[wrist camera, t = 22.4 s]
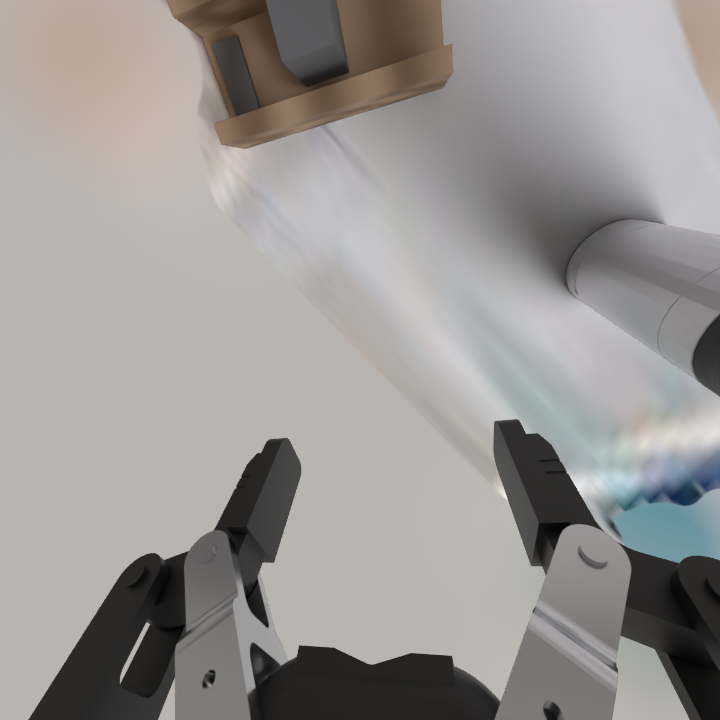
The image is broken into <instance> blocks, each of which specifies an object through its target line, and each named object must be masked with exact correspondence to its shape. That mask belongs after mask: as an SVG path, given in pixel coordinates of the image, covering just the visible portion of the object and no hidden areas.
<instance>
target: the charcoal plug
mask: <svg viewBox="0 0 720 720" xmlns="http://www.w3.org/2000/svg"><path fill="white" fill-rule="evenodd" d="M266 3H267V7H268V11H269V15H270V19H271V22H272V26H273V30H274V34H275V38H276V41H277V45H278V49H279V53H280V57H281V60H282V63H283V64H284V65H285V66H286V67H287V68H288V69H289V70H290V71H291V72H292V73H293V74H294V75H295V76H296V77H297V78H298V79H299V80H300V81H301V82H302V83H303V84H304V85H305V86H306V87H309V86H312V85H315V84H318V83H321V82H324V81H326V80H329V79H332V78H335V77H338V76H341V75H344V74H347V73H349V67H348V61H347V56H346V50H345V45H344V39H343V33H342V28H341V22H340V16H339V11H338V6H337V3H336V0H266Z"/></svg>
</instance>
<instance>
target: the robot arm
mask: <svg viewBox="0 0 720 720" xmlns="http://www.w3.org/2000/svg"><path fill="white" fill-rule="evenodd" d="M566 282H567V286H568V288H569V290H570V292H571V293H572V294H573V295H574V296H575V297H576V298H577V299H579V300H580V301H582V302H583V303H585V304H586V305H587V306H589V307H590V308H592V309H593V310H594V311H596V312H597V313H599V314H600V315H602V316H603V317H605V318H606V319H608V320H609V321H610V322H612V323H613V324H615V325H616V326H618V327H619V328H621V329H622V330H624V331H625V332H627V333H628V334H629V335H631V336H632V337H634V338H635V339H637V340H638V341H640V342H641V343H643V344H644V345H646V346H647V347H648V348H650V349H651V350H653V351H654V352H656V353H657V354H659V355H660V356H662V357H663V358H665V359H666V360H668V361H669V362H670V363H672V364H674V365H675V366H677V367H678V368H679V369H681V370H682V371H684V372H685V373H687V374H688V375H690V376H691V377H693V378H694V379H695V380H697V381H698V382H700V383H701V384H702V385H704V386H705V387H707V388H708V389H710V390H711V391H712V392H714V393H715V394H717V395H718V396H720V235H716V234H711V233H706V232H701V231H695V230H690V229H685V228H680V227H675V226H670V225H665V224H660V223H655V222H650V221H644V220H639V219H626V220H621V221H616V222H614V223H611V224H608V225H606V226H604V227H602V228H601V229H599V230H597V231H595V232H594V233H593V234H592V235H590V236H589V237H588V238H586V239H585V241H584V242H583V243H582V244H581V245H580V246H579V247H578V248H577V250H576V251H575V253H574V254H573V256H572V258H571V260H570V262H569V264H568V268H567V272H566ZM494 458H495V463H496V466H497V469H498V472H499V475H500V478H501V481H502V484H503V486H504V489H505V492H506V495H507V498H508V501H509V504H510V507H511V509H512V512H513V515H514V518H515V521H516V524H517V527H518V530H519V532H520V535H521V538H522V541H523V544H524V547H525V550H526V553H527V555H528V558H529V561H530V564H531V566H542V567H543V569H544V572H545V575H546V577H545V580H544V583H543V586H542V589H541V593H540V595H539V598H538V600H537V603H536V606H535V608H534V610H533V612H532V614H531V617H530V620H529V622H528V625H527V628H526V631H525V634H524V637H523V640H522V643H521V645H520V648H519V651H518V654H517V657H516V660H515V663H514V666H513V668H512V671H511V674H510V677H509V680H508V683H507V685H506V688H505V691H504V694H503V697H502V700H501V702H500V701H499V699H498V698H497V697H496V696H495V695H494V694H493V693H492V692H491V691H490V690H489V689H488V688H487V687H486V686H485V685H484V684H482V683H481V682H480V681H479V680H477V679H476V678H475V677H473V676H472V675H470V674H468V673H467V672H465V671H464V670H461V669H459V668H457V667H455V666H454V664H453V659H452V656H444V655H430V654H416V653H410V654H407V655H404V656H401V657H398V658H394V659H391V660H387V661H384V662H381V663H378V664H374V665H370V664H366V663H365V662H362V661H360V660H358V659H356V658H354V657H352V656H350V655H348V654H346V653H343V652H341V651H339V650H337V649H335V648H329V647H314V646H299V649H298V654H297V657H295V658H294V659H292V660H290V661H288V659H287V656H286V653H285V650H284V648H283V645H282V643H281V641H280V639H279V637H278V635H277V633H276V631H275V628H274V624H273V620H272V617H271V612H270V608H269V605H268V601H267V597H266V593H265V589H264V585H263V582H262V578H261V575H260V573H259V571H260V568H261V565H262V562H271V563H272V562H273V563H274V561H275V557H276V554H277V551H278V548H279V544H280V541H281V538H282V535H283V531H284V528H285V525H286V522H287V519H288V515H289V512H290V509H291V506H292V502H293V499H294V496H295V493H296V489H297V486H298V483H299V480H300V476H301V464H300V461H299V459H298V457H297V455H296V453H295V451H294V449H293V447H292V444H291V442H290V441H289V439H288V438H281V439H270V440H268V441H267V442H266V444H265V446H264V449H263V451H262V452H261V453H257V454H256V455H255V456H254V458H253V459H252V460H251V461H250V462H249V463H248V464H247V466H246V468H245V470H244V472H243V474H242V478H241V479H240V480H239V482H238V484H237V488H236V489H235V490H234V492H233V494H232V496H231V498H230V500H229V502H228V504H227V506H226V508H225V510H224V512H223V514H222V516H221V518H220V520H219V522H218V524H217V526H216V528H215V529H214V531H212V532H209V533H207V534H205V535H204V536H202V537H201V538H200V539H199V540H198V541H197V542H196V543H195V544H194V545H193V546H192V547H191V549H190V551H188V552H185V553H182V554H179V555H177V556H174V557H171V558H169V559H166V560H163V559H162V558H161V557H160V556H159V555H157V554H155V553H150V554H146V555H144V556H142V557H140V558H138V559H137V560H135V561H134V562H133V563H132V564H130V566H128V567H127V568H126V569H125V571H124V572H123V573H122V574H121V576H120V577H119V578H118V580H117V582H116V583H115V585H114V586H113V588H112V589H111V591H110V593H109V594H108V596H107V597H106V599H105V600H104V602H103V604H102V605H101V607H100V608H99V610H98V611H97V613H96V615H95V616H94V618H93V619H92V621H91V622H90V624H89V626H88V627H87V629H86V630H85V632H84V633H83V635H82V637H81V638H80V640H79V642H78V643H77V644H76V646H75V648H74V649H73V651H72V652H71V654H70V655H69V657H68V659H67V660H66V662H65V663H64V665H63V667H62V668H61V670H60V671H59V673H58V674H57V676H56V677H55V679H54V681H53V682H52V684H51V685H50V687H49V688H48V690H47V692H46V693H45V695H44V696H43V698H42V700H41V701H40V703H39V704H38V706H37V707H36V709H35V710H34V712H33V713H32V715H31V717H30V718H29V720H158V718H159V715H160V713H161V710H162V708H163V705H164V703H165V700H166V698H167V695H168V693H169V690H170V688H171V685H172V683H173V680H174V678H175V720H612V716H613V709H614V703H615V697H616V691H617V682H618V669H617V666H616V657H617V651H618V645H619V639H620V635H621V636H623V637H626V638H629V639H631V640H633V641H636V642H638V643H641V644H644V645H646V646H649V647H651V648H654V649H655V650H656V652H657V654H658V656H659V658H660V660H661V662H662V664H663V666H664V668H665V670H666V672H667V674H668V676H669V678H670V680H671V682H672V684H673V686H674V689H675V690H676V693H677V694H678V697H679V699H680V701H681V703H682V705H683V707H684V708H685V711H686V713H687V715H688V717H689V719H690V720H720V561H719V560H717V559H714V558H710V557H705V556H690V557H687V558H685V559H683V560H682V561H681V562H680V563H676V562H672V561H669V560H665V559H662V558H658V557H654V556H651V555H648V554H644V553H640V552H637V551H634V550H632V549H630V548H627V547H625V546H624V545H622V544H620V543H618V542H617V541H616V540H615V539H613V538H612V537H611V536H610V535H608V534H607V533H605V532H604V531H603V530H602V529H601V528H600V526H599V525H598V524H597V523H596V521H595V520H594V518H593V516H592V514H591V513H590V511H589V509H588V508H587V506H586V504H585V502H584V501H583V499H582V497H581V495H580V494H579V492H578V490H577V488H576V487H575V485H574V483H573V482H572V480H571V478H570V476H569V475H568V474H567V472H566V469H565V468H564V466H563V464H562V462H560V460H559V457H558V456H557V454H556V452H555V450H554V449H553V447H552V445H551V444H550V443H549V442H547V441H546V440H545V439H544V438H543V437H541V436H540V435H539V434H538V433H536V434H526V433H525V431H524V429H523V427H522V425H521V423H520V421H519V420H518V419H515V420H503V421H495V422H494ZM146 622H147V623H149V624H150V626H149V628H148V630H147V632H146V634H145V636H144V638H143V640H142V642H141V644H140V646H139V648H138V650H137V652H136V654H135V656H134V658H133V660H132V662H131V664H130V666H129V668H128V670H127V672H126V674H125V676H124V678H123V680H122V682H121V684H120V675H121V672H122V669H123V667H124V664H125V663H126V661H127V659H128V657H129V654H130V653H131V651H132V649H133V647H134V645H135V643H136V641H137V639H138V637H139V635H140V633H141V631H142V629H143V627H144V625H145V623H146Z"/></svg>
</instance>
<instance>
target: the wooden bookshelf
mask: <svg viewBox="0 0 720 720" xmlns="http://www.w3.org/2000/svg"><path fill="white" fill-rule="evenodd" d="M167 2H168V5H169V8H170V10H171V13H172V16H173V17H174V18H175V19H177V20H178V21H180V22H181V23H183V24H184V25H185V26H187V27H188V28H190V29H191V30H192V31H194V32H195V33H197V34H198V35H200V36H201V37H202V38H203V41H204V44H205V47H206V49H207V52H208V55H209V58H210V61H211V64H212V66H213V69H214V72H215V75H216V78H217V81H218V83H219V86H220V89H221V92H222V95H223V98H224V100H225V103H226V106H227V109H228V112H229V115H230V117H231V118H230V119H227V120H224V121H221V122H218V123H215V124H214V126H215V129H216V131H217V134H218V137H219V139H220V142H221V144H222V145H226V146H232V147H238V148H244V149H246V148H249V147H253V146H256V145H259V144H262V143H266V142H269V141H272V140H275V139H279V138H282V137H285V136H288V135H291V134H295V133H298V132H301V131H304V130H308V129H311V128H314V127H317V126H321V125H324V124H327V123H330V122H334V121H337V120H340V119H343V118H346V117H350V116H353V115H356V114H359V113H363V112H366V111H369V110H372V109H376V108H379V107H382V106H385V105H389V104H392V103H395V102H398V101H401V100H405V99H408V98H411V97H414V96H418V95H421V94H424V93H427V92H431V91H434V90H437V89H440V88H443V87H444V86H445V84H446V82H447V80H448V79H449V77H450V75H451V73H452V72H453V67H452V44H450V45H447V46H444V47H443V36H442V17H441V0H336V3H337V6H338V11H339V16H340V22H341V28H342V33H343V39H344V45H345V50H346V56H347V61H348V67H349V73H347V74H344V75H341V76H338V77H335V78H332V79H329V80H326V81H324V82H321V83H318V84H315V85H312V86H309V87H306V86H305V85H304V84H303V83H302V82H301V81H300V80H299V79H298V78H297V77H296V76H295V75H294V74H293V73H292V72H291V71H290V70H289V69H288V68H287V67H286V66H285V65H284V64H283V63H282V60H281V57H280V53H279V49H278V45H277V41H276V38H275V34H274V30H273V26H272V22H271V19H270V15H269V11H268V7H267V3H266V0H167Z"/></svg>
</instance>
